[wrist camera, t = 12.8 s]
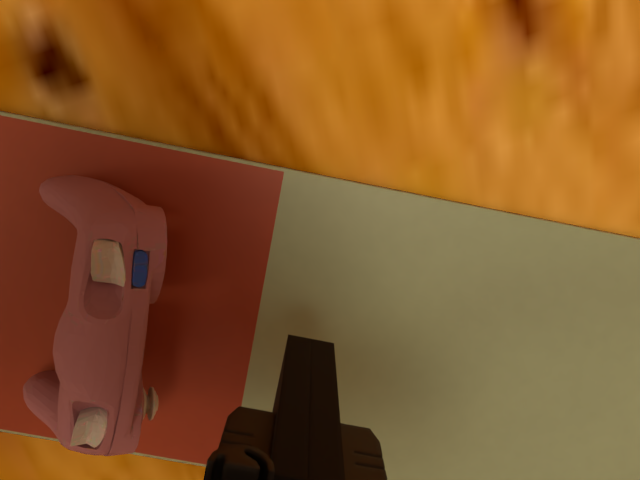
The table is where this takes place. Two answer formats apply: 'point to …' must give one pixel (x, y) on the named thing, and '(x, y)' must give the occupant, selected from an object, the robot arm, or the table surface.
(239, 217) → the placemat
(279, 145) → the table surface
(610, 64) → the table surface
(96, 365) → the video game controller
